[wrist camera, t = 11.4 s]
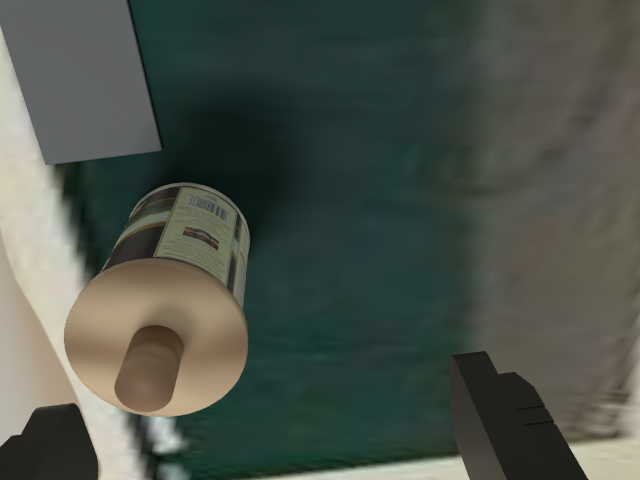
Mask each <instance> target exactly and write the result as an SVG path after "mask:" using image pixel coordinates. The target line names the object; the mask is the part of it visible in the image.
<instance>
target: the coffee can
mask: <svg viewBox="0 0 640 480" xmlns="http://www.w3.org/2000/svg"><path fill="white" fill-rule="evenodd" d="M249 246H250V235H249V229H248V226H247V223H246V220H245V218H244V216H243V214H242V213H241V211H240V210H239V208H238V207H237V206H236V205H235V204H234V203H233V202H232V201H231V199H229V198H228V197H226V196H225V195H223V194H222V193H220V192H218V191H217V190H215V189H212V188H210V187H207V186H204V185H200V184H195V183H186V182H183V183H174V184H169V185H165V186H162V187H159V188H157V189H155V190H153V191H152V192H150V193H148V194H147V195H146V196H145V197H143V198H142V199H141V200H140V201H139V202H138V203H137V205H136V206H135V208H134V209H133V211H132V213H131V215H130V217H129V220H128V222H127V224H126V226H125V228H124V230H123V232H122V234H121V236H120V238H119V239H118V241H117V243H116V245H115V247H114V249H113V251H112V252H111V254H110V256H109V258H108V260H107V261H106V263H105V265H104V267H103V268H102V270H101V272H100V273H102V272H103V271H105V270H107V269H109V268H111V267H113V266H115V265H118V264H121V263H124V262H127V261H132V260H137V259H147V258H159V259H169V260H175V261H179V262H183V263H187V264H189V265H192V266H194V267H197V268H199V269H201V270H203V271H205V272H207V273H209V274H210V275H212V276H213V277H215V278H216V279H217V280H219V281H220V282H221V283H222V284H223V285H224V286H225V287H227V288H228V290H229V291H230V292H231V293H232V294H233V295H234V297H235V298H236V300H237V301H238V303H239V304H240V306H241V308H242V311H243V300H244V289H245V279H246V268H247V256H248V252H249Z"/></svg>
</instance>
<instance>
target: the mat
mask: <svg viewBox="0 0 640 480" xmlns="http://www.w3.org/2000/svg"><path fill="white" fill-rule="evenodd" d="M0 26H1V29H2V32H3V35H4V38H5V41H6V44H7V47H8V50H9V54H10V57H11V60H12V63H13V66H14V69H15V72H16V75H17V78H18V81H19V84H20V87H21V90H22V94H23V97H24V100H25V103H26V106H27V109H28V112H29V115H30V118H31V121H32V124H33V127H34V130H35V134H36V137H37V140H38V143H39V146H40V149H41V152H42V155H43V158H44V161H45V164H46V165H51V164H59V163H67V162H75V161H83V160H91V159H98V158H106V157H114V156H122V155H130V154H138V153H146V152H154V151H161V150H162V146H161V142H160V138H159V133H158V129H157V125H156V120H155V116H154V112H153V108H152V103H151V99H150V95H149V90H148V86H147V82H146V78H145V73H144V69H143V65H142V60H141V56H140V52H139V48H138V43H137V39H136V35H135V31H134V26H133V22H132V18H131V13H130V9H129V5H128V1H127V0H0Z"/></svg>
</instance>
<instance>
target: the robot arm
mask: <svg viewBox="0 0 640 480" xmlns="http://www.w3.org/2000/svg"><path fill="white" fill-rule="evenodd" d="M449 376H450V414H451V422H452V428H453V432H454V436H455V440H456V443H457V445H458V448H459V451H460V454H461V456H462V459H463V462H464V465H465V467H466V470H467V473H468V476H469V478H470V480H588V478H587V477H586V475H585V473H584V471H583V470H582V468H581V466H580V465H579V463H578V461H577V460H576V458H575V456H574V454H573V453H572V451H571V449H570V448H569V446H568V444H567V442H566V441H565V439H564V437H563V436H562V434H561V432H560V431H559V429H558V427H557V425H555V424H554V420H553V419H552V417H551V415H550V413H549V412H548V410H547V409H545V405H544V403H543V402H542V400H541V398H540V396H539V395H538V393H537V391H536V390H535V388H534V387H533V386H532V385H531V384H530V383H528V382H527V381H526V380H524V379H523V378H522V377H520V376H519V375H518V374H517V373H515V372H511V373H503V374H498V373H497V371H496V369H495V367H494V365H493V363H492V361H491V359H490V357H489V356H488V354H487V353H486V352H485V351H482V352H474V353H467V354H459V355H451V356H450V359H449ZM0 480H98V460H97V456H96V453H95V450H94V447H93V445H92V442H91V439H90V436H89V434H88V431H87V428H86V426H85V423H84V420H83V417H82V415H81V412H80V410H79V408H78V406H77V405H76V404H74V403H71V404H62V405H55V406H48V407H39V408H37V409H35V410H34V412H33V413H32V415H31V417H30V419H29V421H28V422H27V424H26V426H25V428H24V430H23V432H22V434H21V435H14V436H11V437H10V438H9V439H8V440H7V441H6V442H5V443H4V444H3V445H2V446H1V447H0Z"/></svg>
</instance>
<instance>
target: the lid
mask: <svg viewBox="0 0 640 480" xmlns="http://www.w3.org/2000/svg"><path fill="white" fill-rule="evenodd" d="M64 344H65V351H66V354H67V357H68V360H69V362H70V365H71V367H72V369H73V370H74V372H75V373H76V375H77V377H78V378H79V379H80V380H81V381H82V383H83V384H84V385H85V386H86V387H87V388H88V389H89V390H90V391H91V392H93V393H94V394H95V395H97V396H98V397H99V398H101V399H102V400H104V401H106V402H107V403H109V404H111V405H113V406H115V407H118V408H120V409H122V410H125V411H128V412H132V413H136V414H140V415H146V416H155V417H168V416H178V415H184V414H189V413H192V412H195V411H198V410H201V409H203V408H205V407H208V406H209V405H211V404H213V403H215V402H216V401H218V400H219V399H220V398H222V397H223V396H224V395H225V394H226V393H227V392H228V391H229V390H230V389H231V388H232V387H233V386H234V385H235V383H236V382H237V381H238V379H239V377H240V375H241V373H242V371H243V368H244V366H245V362H246V357H247V349H248V328H247V322H246V319H245V315H244V313H243V311H242V308H241V306H240V304H239V303H238V301H237V300H236V298H235V297H234V295H233V294H232V293H231V292H230V291H229V290H228V288H227V287H225V286H224V285H223V284H222V283H221V282H220V281H219V280H217V279H216V278H215V277H213V276H212V275H210V274H209V273H207V272H205V271H203V270H201V269H199V268H197V267H194V266H192V265H189V264H187V263H183V262H179V261H175V260H169V259H159V258H147V259H137V260H132V261H127V262H124V263H121V264H118V265H115V266H113V267H111V268H109V269H107V270H105V271H103V272H102V273H100V274H99V275H97V276H96V277H95V278H93V279H92V280H91V281H90V282H89V283H88V284H87V285H86V286H85V288H84V289H83V290H82V291H81V293H80V294H79V296H78V298H77V300H76V301H75V303H74V305H73V306H72V308H71V310H70V312H69V315H68V317H67V320H66V324H65V329H64Z"/></svg>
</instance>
